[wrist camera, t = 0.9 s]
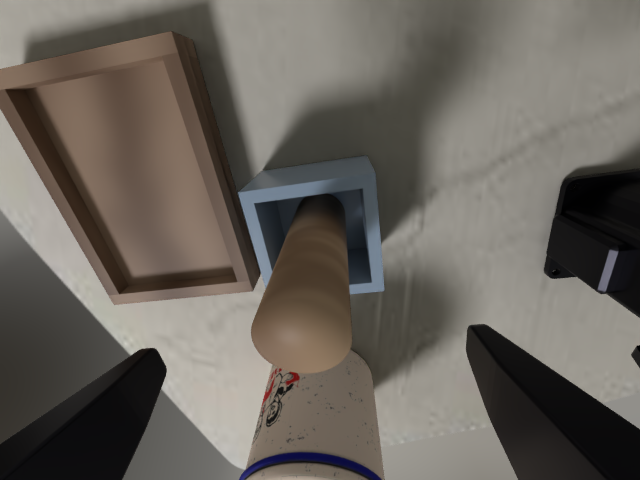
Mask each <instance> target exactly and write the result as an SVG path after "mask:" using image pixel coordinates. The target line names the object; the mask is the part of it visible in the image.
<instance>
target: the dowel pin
mask: <svg viewBox="0 0 640 480" xmlns="http://www.w3.org/2000/svg"><path fill="white" fill-rule="evenodd" d="M251 336H252V341H253V343H254V346H255V348H256V349H257V351H258V352H259V353H260V355H261V356H262V357H263V358H264V359H266V360H267V361H268V362H269V363H271V364H273V365H274V366H276V367H278V368H281V369H283V370H286V371H290V372H295V373H304V374H306V373H318V372H322V371H325V370H328V369H330V368H333V367H334V366H336V365H338V364H339V363H340V362H341V361H342V360H343V359H344V358H345V357H346V356H347V354H348V353H349V351H350V348H351V345H352V325H351V307H350V289H349V271H348V253H347V236H346V218H345V210H344V207H343V205H342V203H341V202H340V201H339V200H338V199H337V198H336V197H334V196H333V195H331V194H328V193H325V194H318V195H311V196H306V197H305V198H304V199H303V200H302V201H301V202H300V204H299V205H298V208H297V210H296V213H295V215H294V218H293V221H292V223H291V226H290V228H289V231H288V233H287V236H286V238H285V241H284V244H283V246H282V249H281V251H280V254H279V256H278V259H277V262H276V264H275V267H274V269H273V272H272V274H271V277H270V279H269V282H268V285H267V287H266V290H265V292H264V295H263V297H262V300H261V303H260V305H259V308H258V310H257V313H256V315H255V318H254V321H253V323H252V328H251Z"/></svg>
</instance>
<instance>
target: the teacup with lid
mask: <svg viewBox="0 0 640 480" xmlns="http://www.w3.org/2000/svg"><path fill="white" fill-rule="evenodd" d="M239 480H385V479H384V471H383V463H382V455H381V446H380V438H379V429H378V421H377V413H376V404H375V396H374V388H373V380H372V374H371V371H370V369H369V367H368V365H367V364H366V362H365V361H364V360H363V359H362V358H361V357H360V356H359V355H358V354H357V353H355V352H354V351H352V350H350V351H349V353H348V354H347V356H346V357H345V358H344V359H343V360H342V361H341V362H340V363H339V364H338V365H336V366H334V367H333V368H330V369H328V370H325V371H322V372H318V373H306V374H304V373H295V372H290V371H286V370H283V369H281V368H278V367H276V366H274V365H272V368H271V371H270V375H269V379H268V383H267V387H266V391H265V395H264V399H263V403H262V407H261V411H260V415H259V418H258V422H257V426H256V430H255V434H254V438H253V442H252V446H251V450H250V454H249V458H248V462H247V466H246V470H245V471H244V472H243V474H242V475H241V477H240V479H239Z"/></svg>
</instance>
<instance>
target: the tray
mask: <svg viewBox="0 0 640 480" xmlns="http://www.w3.org/2000/svg"><path fill="white" fill-rule="evenodd" d="M0 109H1V111H2V112H3V114H4V116H5V118H6V119H7V121H8V123H9V124H10V126H11V128H12V130H13V131H14V133H15V135H16V137H17V138H18V140H19V142H20V143H21V145H22V147H23V149H24V150H25V152H26V154H27V156H28V157H29V159H30V161H31V162H32V164H33V166H34V168H35V169H36V171H37V173H38V175H39V176H40V178H41V180H42V181H43V183H44V185H45V187H46V188H47V190H48V192H49V194H50V195H51V197H52V199H53V200H54V202H55V204H56V206H57V207H58V209H59V211H60V213H61V214H62V216H63V218H64V219H65V221H66V223H67V225H68V226H69V228H70V230H71V232H72V233H73V235H74V237H75V238H76V240H77V242H78V244H79V245H80V247H81V249H82V251H83V252H84V254H85V256H86V257H87V259H88V261H89V263H90V264H91V266H92V268H93V270H94V271H95V273H96V275H97V276H98V278H99V280H100V282H101V283H102V285H103V287H104V289H105V290H106V292H107V294H108V295H109V297H110V299H111V301H112V302H113V304H114V305H118V304H128V303H138V302H149V301H159V300H169V299H179V298H189V297H199V296H210V295H220V294H230V293H240V292H250V291H253V290H254V288H255V285H256V283H257V281H258V279H259V277H260V271H259V268H258V264H257V261H256V257H255V254H254V250H253V247H252V243H251V240H250V237H249V233H248V230H247V226H246V223H245V219H244V216H243V213H242V209H241V206H240V202H239V199H238V195H237V192H236V189H235V185H234V182H233V178H232V175H231V171H230V168H229V164H228V161H227V158H226V154H225V151H224V147H223V144H222V140H221V137H220V134H219V130H218V127H217V123H216V120H215V116H214V113H213V109H212V106H211V103H210V99H209V96H208V92H207V89H206V85H205V82H204V79H203V75H202V72H201V68H200V65H199V61H198V58H197V55H196V51H195V48H194V44H193V41H192V40H191V39H189V38H187V37H184V36H182V35H179V34H177V33H175V32H172V31H169V32H165V33H160V34H156V35H151V36H147V37H142V38H138V39H133V40H129V41H124V42H120V43H115V44H111V45H106V46H102V47H97V48H93V49H88V50H84V51H79V52H75V53H70V54H66V55H61V56H57V57H52V58H48V59H43V60H39V61H34V62H30V63H25V64H21V65H16V66H12V67H8V68H3V69H0Z"/></svg>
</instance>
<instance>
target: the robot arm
mask: <svg viewBox="0 0 640 480" xmlns="http://www.w3.org/2000/svg"><path fill="white" fill-rule="evenodd" d="M574 184H575V187H574V188H573V189H572V190H571V187H572V186H573V185H574ZM555 269H556V270H555ZM553 270H555V271H554V272H553ZM544 273H545V274H546V275H547V276H548V277H550V278H552V279H557V278H568V277H578V278H579V279H580V280H582V281H583V282H585V283H586V284H587V285H589V286H590V287H591V288H593V289H594V290H595V291H597V292H598V293H600V294H607V295H609V296H610V297H611V298H613V299H614V300H616V301H617V302H618V303H620V304H621V305H623V306H624V307H625V308H627V309H628V310H629V311H631V312H632V313H634V314H635V315H636V316H638V317H639V318H640V169H632V170H625V171H617V172H609V173H602V174H594V175H586V176H579V177H572V178H568V179H567V180H565V181H564V182H563V183H562V185H561V188H560V193H559V198H558V203H557V208H556V213H555V217H554V219H553V223H552V228H551V233H550V238H549V243H548V248H547V257H546V262H545V267H544ZM466 353H467V357H468V360H469V363H470V365H471V368H472V371H473V374H474V377H475V380H476V382H477V385H478V388H479V391H480V394H481V397H482V399H483V402H484V405H485V408H486V410H487V413H488V416H489V418H490V420H491V423H492V425H493V427H494V429H495V431H496V433H497V436H498V438H499V440H500V442H501V444H502V446H503V448H504V450H505V453H506V454H507V456H508V459H509V461H510V463H511V465H512V467H513V469H514V471H515V474H516V476H517V478H518V480H640V429H639V428H637V427H636V426H634V425H632V424H631V423H630V422H628V421H627V420H625V419H624V418H623V417H621V416H620V415H618V414H617V413H615V412H614V411H612V410H611V409H609V408H608V407H606V406H604V405H603V404H602V403H601V402H599V401H598V400H596V399H595V398H593V397H592V396H590V395H589V394H587V393H586V392H584V391H583V390H582V389H580V388H579V387H577V386H576V385H574V384H573V383H571V382H570V381H568V380H567V379H565V378H564V377H562V376H561V375H560V374H558V373H557V372H555V371H554V370H552V369H551V368H549V367H548V366H546V365H545V364H543V363H542V362H540V361H539V360H538V359H536V358H535V357H533V356H532V355H530V354H529V353H527V352H526V351H524V350H523V349H521V348H520V347H518V346H517V345H516V344H514V343H513V342H511V341H510V340H508V339H507V338H505V337H504V336H502V335H501V334H499V333H498V332H496V331H495V330H494V329H492V328H491V327H489V326H488V325H485V324H477V325H470V326H468V329H467V341H466ZM631 356H632V357H633V359H634V360H635V362H636V363H637V365H638V366H639V368H640V345H639V346H637V347H636V348H635V349H634V351H633V352H632V354H631ZM166 372H167V369H166V365H165V363H164V362H163V360H162V358H161V356H160V354H159V352H158V351H157V350H156V349H155V348H146V349H141V350H139V351H137V352H136V353H134V354H133V355H131V356H130V357H128V358H127V359H125V360H124V361H122V362H121V363H119V364H118V365H116V366H115V367H113V368H112V369H110V370H109V371H107V372H106V373H104V374H103V375H102V376H100V377H99V378H97V379H96V380H94V381H93V382H91V383H90V384H88V385H87V386H85V387H84V388H82V389H81V390H80V391H78V392H76V393H75V394H74V395H72V396H71V397H69V398H68V399H66V400H65V401H63V402H62V403H60V404H59V405H57V406H56V407H54V408H53V409H51V410H50V411H48V412H47V413H45V414H44V415H43V416H41V417H39V418H38V419H36V420H35V421H34V422H32V423H31V424H29V425H28V426H26V427H25V428H23V429H22V430H20V431H19V432H17V433H16V434H14V435H13V436H11V437H10V438H8V439H7V440H5V441H4V442H2V443H1V444H0V480H122V479H123V477H124V475H125V473H126V470H127V468H128V466H129V464H130V462H131V460H132V458H133V456H134V454H135V451H136V449H137V447H138V445H139V443H140V441H141V438H142V436H143V434H144V432H145V430H146V427H147V425H148V422H149V420H150V417H151V414H152V411H153V409H154V406H155V403H156V401H157V398H158V395H159V393H160V390H161V387H162V385H163V382H164V379H165V376H166Z"/></svg>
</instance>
